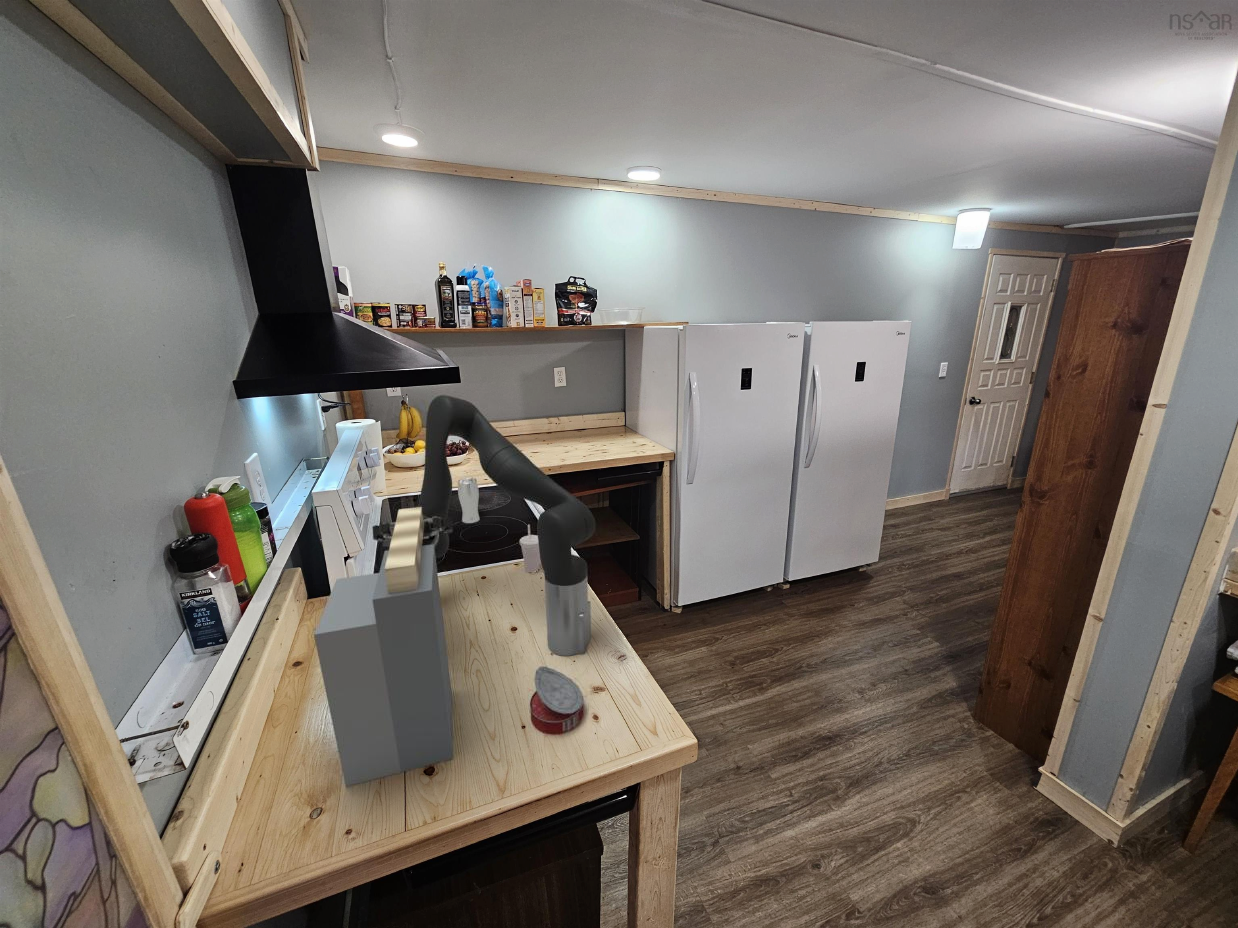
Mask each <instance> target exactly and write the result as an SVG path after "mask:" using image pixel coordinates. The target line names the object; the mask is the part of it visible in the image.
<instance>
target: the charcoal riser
mask: <svg viewBox="0 0 1238 928" xmlns="http://www.w3.org/2000/svg"><path fill="white" fill-rule="evenodd" d="M388 552H389V549H388V550H384V553H383V557H382V560H381V564H380V567H379V568H380V569H379V572H377V573H369V574H364V575H363V574H362V575H356V576H349V577H348V576H347V577H344V578H343V577H342V578H336V579H335V582H334V585H333V587H332V589H331V592H330V595H329V596H328V599H327V602H326V605H325V607H324V608H323V612H322V613H321V615H320V616H321V617H320V619H319V621H318V623H317V626H316V627H315V628H316V629H315V631H314V633H313V637H314V642H315V647H316V651H317V655H318V661H319V665H320V671H321V674H322V679H323V684H324V689H325V693H326V694H325V695H326V698H327V705H328V709H329V713H330V718H331V724H332V726H333V727H332V728H333V731H334V737H335V741H336V747H337V750H338V751H337V752H338V756H339V761H340V767H341V770H342V776H343V780H344V784H345V787H346V788H347V787H350V786H355V785H359V784H361V783H366V782H370V781H374V780H377V779H380V778H381V779H382V778H385V777H388V776H392V775H393V776H394V775H396V774H399V773H403V772H407V771H411V770H416V769H420V768H423V767H427V766H431V765H434V764H437V763H441V762H445V761H450V760H453V759H454V757H453V756H454V755H453V752H454V751H453V700H452V699H453V693H452V684H451V683H452V682H451V675H450V667H449V657H448V651H447V650H448V649H447V642H446V640H447V639H446V634H445V632H446V631H445V625H444V618H443V617H444V614H443V609H442V599H441V592H440V591H441V590H440V583H439V576H438V567H437V565H438V564H437V558H436V557H435V548H434V544H433V545H426V546H422V551H421V560H420V570H419V580H418V589H414V590H408V591H402V592H395V593H389V594H388V589H387V582H386V576H385V565H386V561H387V557H388Z"/></svg>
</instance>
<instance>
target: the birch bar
mask: <svg viewBox="0 0 1238 928" xmlns="http://www.w3.org/2000/svg"><path fill="white" fill-rule="evenodd" d="M395 522H396V523H395V528H394V532H393V536H392V539H391V540H390V545H389V549H388V550H389V552H388V557H387V561H386V565H385V576H386V582H387V589H388V594H389V593H395V592H402V591H408V590H414V589H418V580H419V570H420V560H421V551H422V541H423V531H424V522H423V514H422V507H418V506H416V507H409V508H401V509H400V508H399V509H398V511H397V516H396V520H395Z"/></svg>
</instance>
